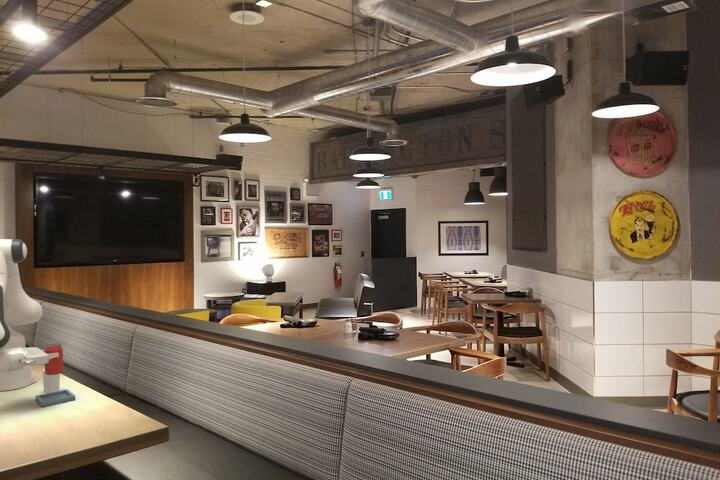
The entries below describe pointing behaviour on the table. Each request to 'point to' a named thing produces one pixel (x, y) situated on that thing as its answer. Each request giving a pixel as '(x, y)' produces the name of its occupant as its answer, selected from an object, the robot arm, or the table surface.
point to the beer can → (54, 359)
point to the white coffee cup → (51, 382)
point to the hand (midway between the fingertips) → (56, 352)
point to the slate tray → (54, 398)
